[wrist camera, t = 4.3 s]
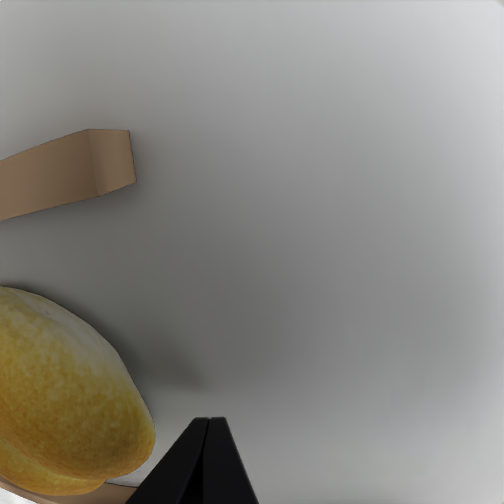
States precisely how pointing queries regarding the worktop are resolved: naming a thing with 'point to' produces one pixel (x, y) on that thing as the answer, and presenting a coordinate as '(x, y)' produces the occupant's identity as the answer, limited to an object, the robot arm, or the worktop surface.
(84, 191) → the guide channel
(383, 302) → the worktop surface
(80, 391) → the bread roll
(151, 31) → the worktop surface
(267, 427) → the worktop surface
